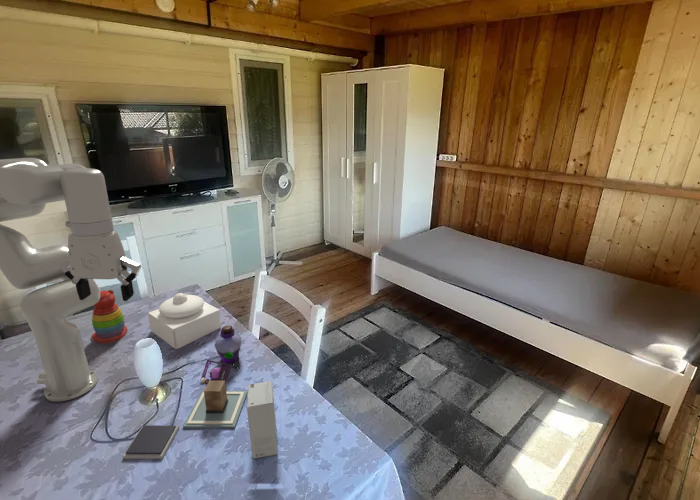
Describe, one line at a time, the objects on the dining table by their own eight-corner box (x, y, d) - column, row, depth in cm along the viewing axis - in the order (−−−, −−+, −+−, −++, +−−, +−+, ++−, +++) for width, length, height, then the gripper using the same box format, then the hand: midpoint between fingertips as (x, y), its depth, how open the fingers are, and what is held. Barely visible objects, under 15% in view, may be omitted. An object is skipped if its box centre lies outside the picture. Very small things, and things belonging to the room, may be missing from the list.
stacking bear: (124, 325, 139) (115, 282, 133) (133, 336, 132) (123, 291, 126) (90, 337, 131) (79, 291, 125) (98, 348, 125) (86, 301, 119)
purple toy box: (222, 388, 106) (198, 382, 109) (232, 389, 110) (209, 384, 114) (229, 364, 108) (205, 359, 112) (239, 366, 113) (216, 362, 116)
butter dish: (196, 315, 147) (191, 278, 142) (222, 330, 137) (218, 292, 132) (151, 333, 134) (144, 294, 129) (176, 352, 124) (169, 310, 119)
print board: (183, 428, 93) (182, 425, 93) (202, 392, 106) (201, 389, 105) (234, 428, 93) (234, 425, 93) (247, 392, 106) (247, 390, 105)
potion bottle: (221, 371, 115) (217, 338, 111) (212, 357, 121) (208, 325, 117) (248, 361, 119) (245, 329, 115) (238, 348, 126) (235, 317, 122)
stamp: (206, 413, 97) (202, 391, 95) (211, 401, 101) (209, 380, 99) (223, 413, 97) (220, 391, 95) (228, 401, 102) (225, 380, 99)
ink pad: (123, 458, 85) (122, 454, 84) (143, 427, 93) (142, 423, 93) (162, 458, 85) (161, 454, 84) (179, 428, 93) (178, 424, 93)
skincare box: (277, 455, 86) (274, 404, 81) (251, 460, 85) (246, 408, 80) (276, 427, 94) (273, 379, 89) (252, 431, 93) (247, 382, 88)
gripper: (38, 230, 76) (57, 304, 82) (124, 233, 76) (136, 306, 82) (63, 221, 83) (79, 289, 89) (142, 223, 84) (152, 291, 89)
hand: (107, 297), depth 85 cm, fingers open, 9 cm apart
